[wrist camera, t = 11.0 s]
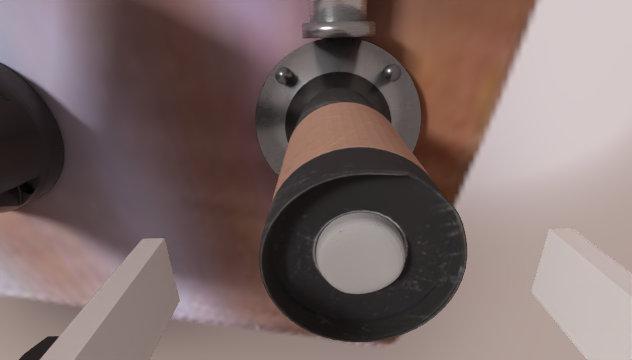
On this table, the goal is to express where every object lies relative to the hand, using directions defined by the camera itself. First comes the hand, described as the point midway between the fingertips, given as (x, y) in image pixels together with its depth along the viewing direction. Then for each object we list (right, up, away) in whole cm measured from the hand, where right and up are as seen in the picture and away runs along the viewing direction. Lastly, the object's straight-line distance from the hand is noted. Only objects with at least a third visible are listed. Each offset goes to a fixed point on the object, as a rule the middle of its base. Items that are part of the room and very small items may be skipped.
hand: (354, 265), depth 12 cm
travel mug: (+1, +8, +19) cm, 20 cm away
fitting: (+1, +11, +18) cm, 22 cm away
